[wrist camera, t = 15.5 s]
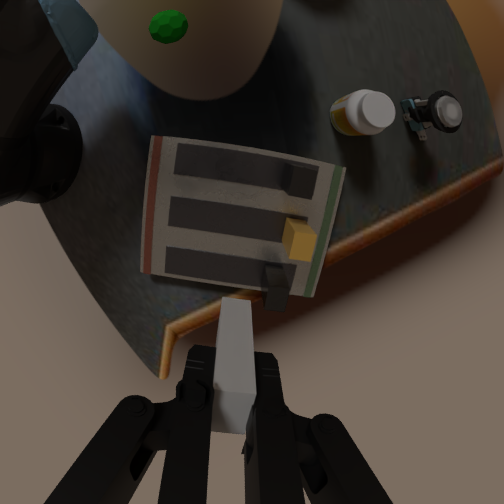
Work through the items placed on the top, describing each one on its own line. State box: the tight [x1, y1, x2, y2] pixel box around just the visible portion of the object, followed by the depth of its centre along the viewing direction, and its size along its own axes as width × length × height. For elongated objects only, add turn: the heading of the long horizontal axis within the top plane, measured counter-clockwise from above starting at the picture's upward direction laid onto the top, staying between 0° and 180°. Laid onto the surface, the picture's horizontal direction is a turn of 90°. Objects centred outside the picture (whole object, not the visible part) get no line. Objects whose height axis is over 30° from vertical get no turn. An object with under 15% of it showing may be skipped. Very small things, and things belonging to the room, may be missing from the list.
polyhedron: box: [149, 10, 188, 44], centre depth 27 cm, size 5×5×5 cm
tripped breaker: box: [282, 217, 317, 262], centre depth 33 cm, size 2×3×6 cm
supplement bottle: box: [330, 90, 395, 136], centre depth 30 cm, size 5×5×10 cm
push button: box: [401, 90, 462, 140], centre depth 29 cm, size 7×5×10 cm
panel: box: [140, 135, 346, 312], centre depth 34 cm, size 24×18×10 cm
